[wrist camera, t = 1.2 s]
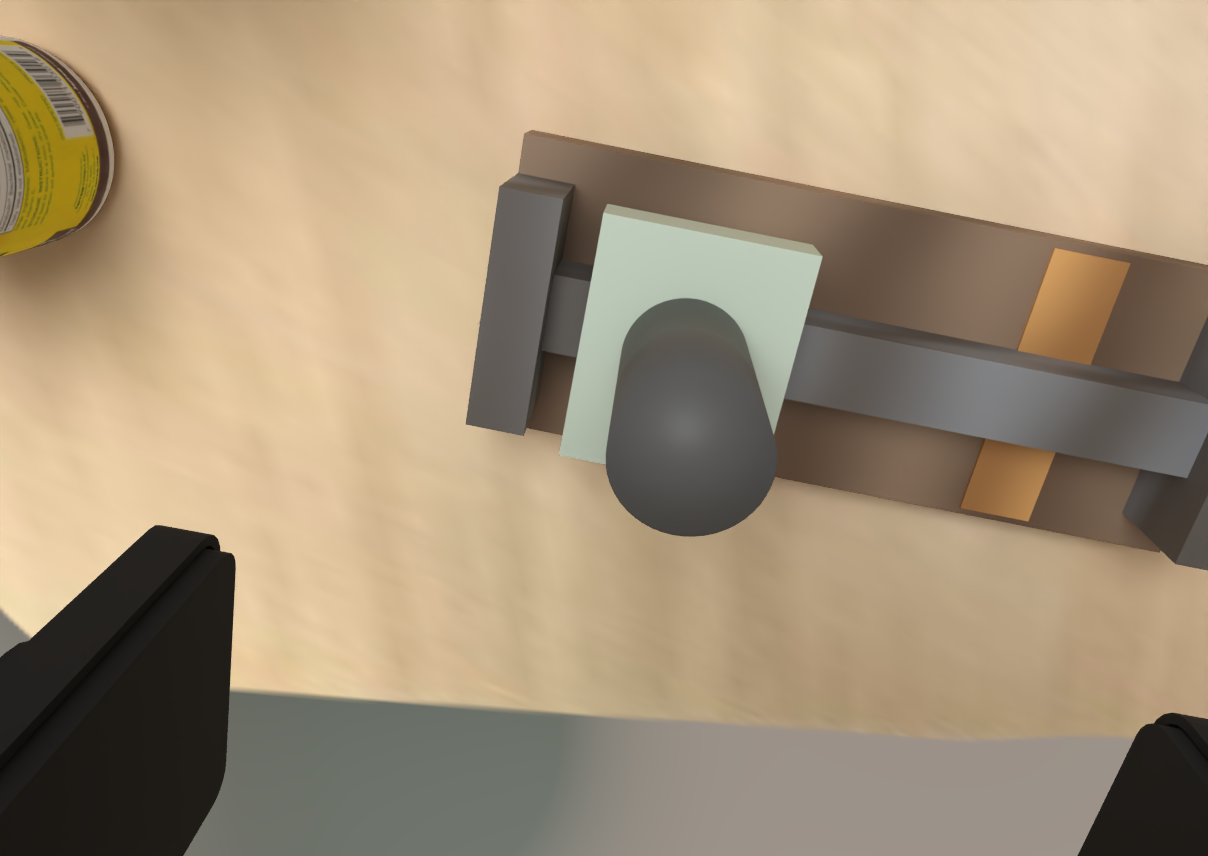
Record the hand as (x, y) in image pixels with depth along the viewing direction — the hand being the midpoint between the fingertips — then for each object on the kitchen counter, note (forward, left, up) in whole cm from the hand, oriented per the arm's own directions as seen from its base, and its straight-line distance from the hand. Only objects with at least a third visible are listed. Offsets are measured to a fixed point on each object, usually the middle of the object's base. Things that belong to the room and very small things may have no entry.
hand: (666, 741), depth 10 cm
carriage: (0, 0, -17) cm, 17 cm away
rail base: (-5, 0, -19) cm, 19 cm away
